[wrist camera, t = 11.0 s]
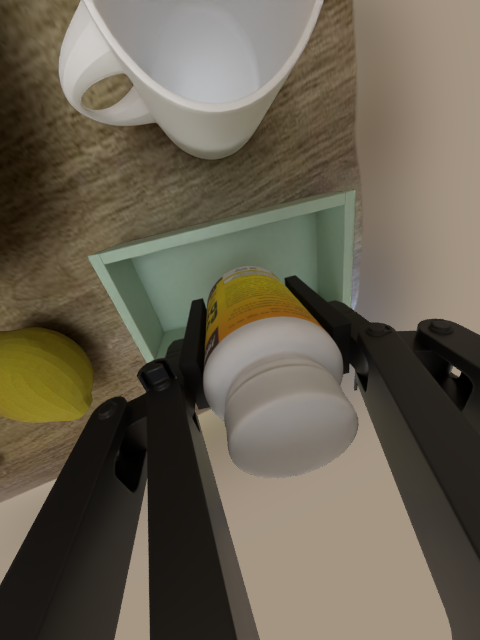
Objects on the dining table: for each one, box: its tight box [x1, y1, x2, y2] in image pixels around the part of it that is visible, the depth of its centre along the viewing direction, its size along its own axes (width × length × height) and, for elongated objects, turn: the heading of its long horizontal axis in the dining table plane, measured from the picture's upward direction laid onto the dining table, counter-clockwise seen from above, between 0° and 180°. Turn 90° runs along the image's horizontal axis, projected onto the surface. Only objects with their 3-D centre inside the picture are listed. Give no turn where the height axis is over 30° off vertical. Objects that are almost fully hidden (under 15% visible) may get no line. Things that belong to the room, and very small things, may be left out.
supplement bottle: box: [203, 266, 358, 478], centre depth 11 cm, size 6×6×10 cm
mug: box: [59, 0, 324, 160], centre depth 11 cm, size 9×12×11 cm
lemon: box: [0, 327, 94, 422], centre depth 21 cm, size 11×8×8 cm
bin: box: [88, 190, 356, 363], centre depth 20 cm, size 20×11×6 cm, turn 102°
